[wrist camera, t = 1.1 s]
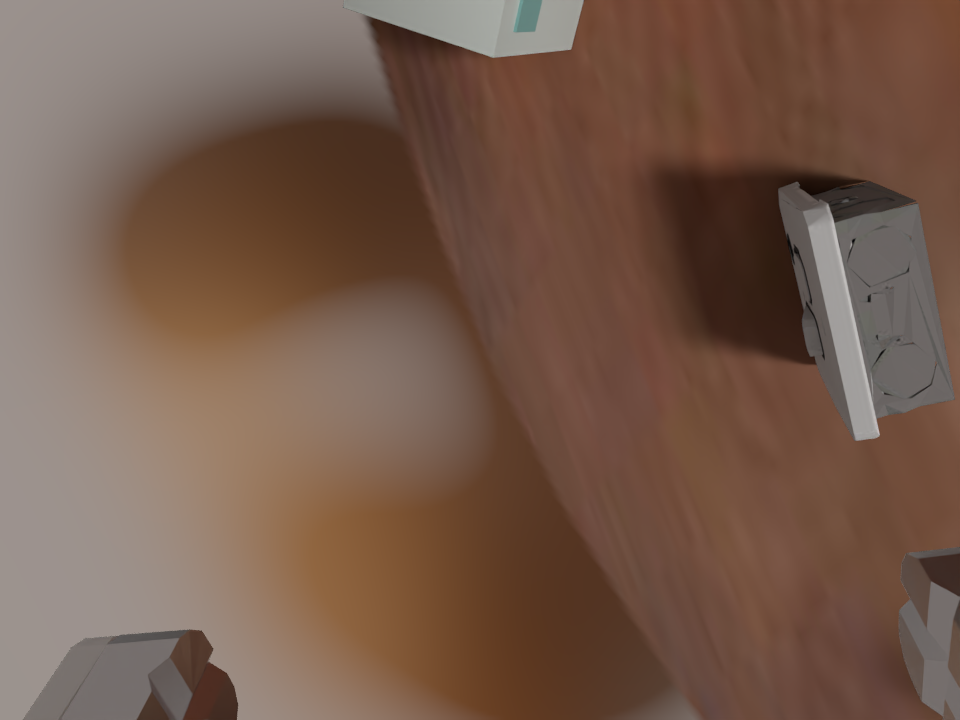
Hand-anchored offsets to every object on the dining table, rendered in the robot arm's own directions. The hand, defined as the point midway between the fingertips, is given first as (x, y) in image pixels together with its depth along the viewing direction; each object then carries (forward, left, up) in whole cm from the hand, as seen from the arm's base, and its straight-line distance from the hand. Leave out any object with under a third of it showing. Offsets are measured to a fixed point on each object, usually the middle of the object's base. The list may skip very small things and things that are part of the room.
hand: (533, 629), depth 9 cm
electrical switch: (+4, +2, -32) cm, 32 cm away
